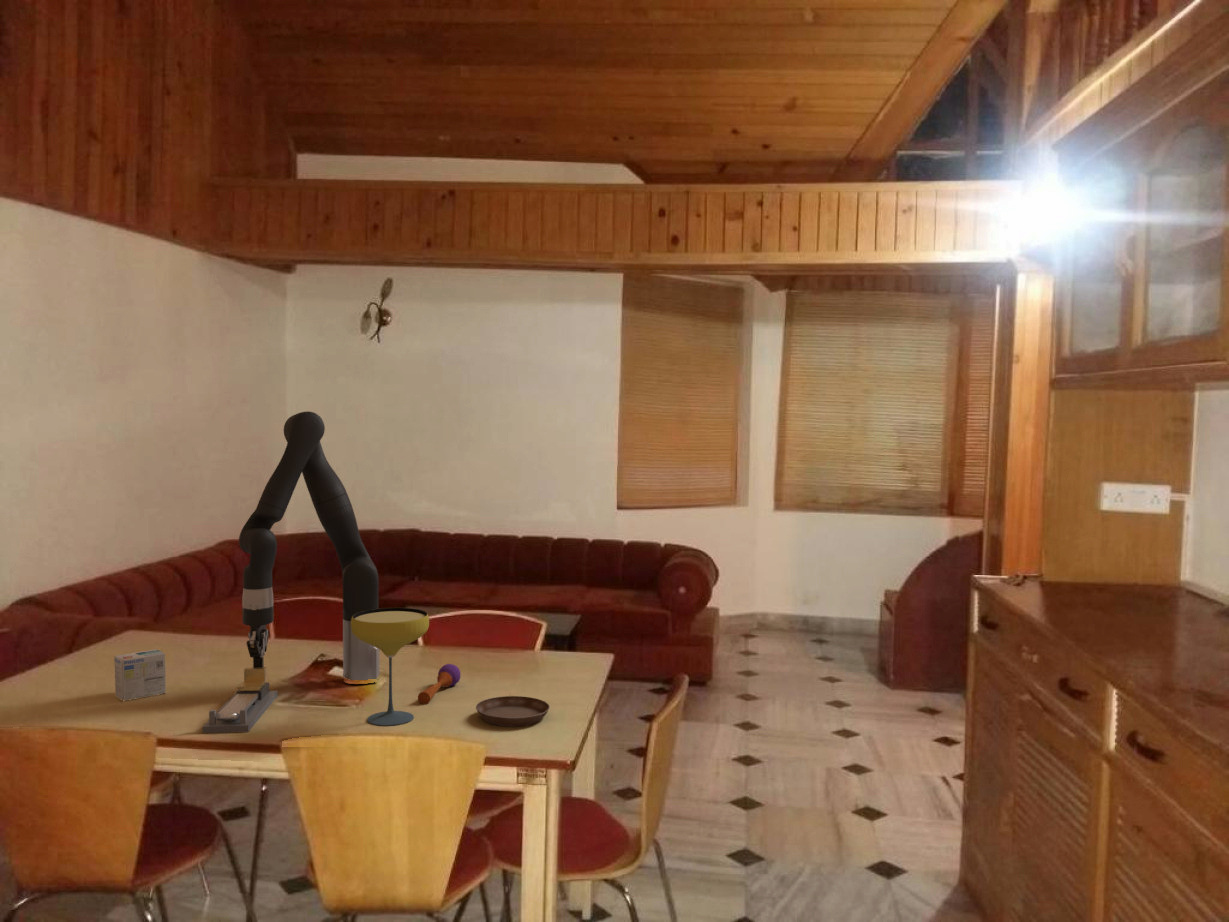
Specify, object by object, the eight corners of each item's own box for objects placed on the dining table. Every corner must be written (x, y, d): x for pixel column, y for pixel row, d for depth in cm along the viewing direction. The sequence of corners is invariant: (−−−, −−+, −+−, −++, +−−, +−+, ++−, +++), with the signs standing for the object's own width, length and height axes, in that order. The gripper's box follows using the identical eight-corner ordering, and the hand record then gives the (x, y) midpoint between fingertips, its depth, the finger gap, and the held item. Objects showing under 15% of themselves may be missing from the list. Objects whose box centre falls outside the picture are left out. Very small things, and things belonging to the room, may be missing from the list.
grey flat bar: (238, 720, 222) (238, 714, 222) (215, 721, 221) (215, 714, 221) (258, 698, 240) (258, 692, 239) (237, 699, 239) (237, 692, 239)
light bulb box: (157, 688, 255) (156, 648, 255) (166, 694, 250) (166, 652, 250) (113, 696, 248) (113, 654, 247) (122, 702, 243) (122, 659, 242)
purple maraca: (410, 688, 244) (441, 662, 264) (415, 710, 245) (445, 683, 264) (432, 685, 243) (461, 659, 262) (437, 708, 243) (465, 680, 263)
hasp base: (248, 731, 221) (248, 712, 221) (202, 733, 220) (202, 713, 220) (277, 696, 249) (277, 679, 249) (237, 697, 248) (236, 679, 248)
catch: (259, 690, 241) (259, 674, 240) (238, 690, 240) (238, 674, 240) (266, 682, 247) (266, 667, 247) (245, 683, 247) (245, 667, 247)
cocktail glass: (364, 706, 241) (363, 606, 240) (436, 708, 240) (436, 608, 239) (341, 730, 223) (340, 622, 222) (419, 731, 222) (419, 623, 221)
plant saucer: (551, 707, 243) (551, 695, 242) (547, 730, 225) (547, 717, 225) (480, 707, 242) (480, 695, 242) (471, 729, 225) (471, 716, 224)
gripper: (250, 600, 256) (250, 665, 256) (235, 610, 242) (235, 678, 243) (279, 599, 256) (279, 664, 257) (266, 609, 243) (266, 678, 244)
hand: (258, 671), depth 250 cm, fingers closed
